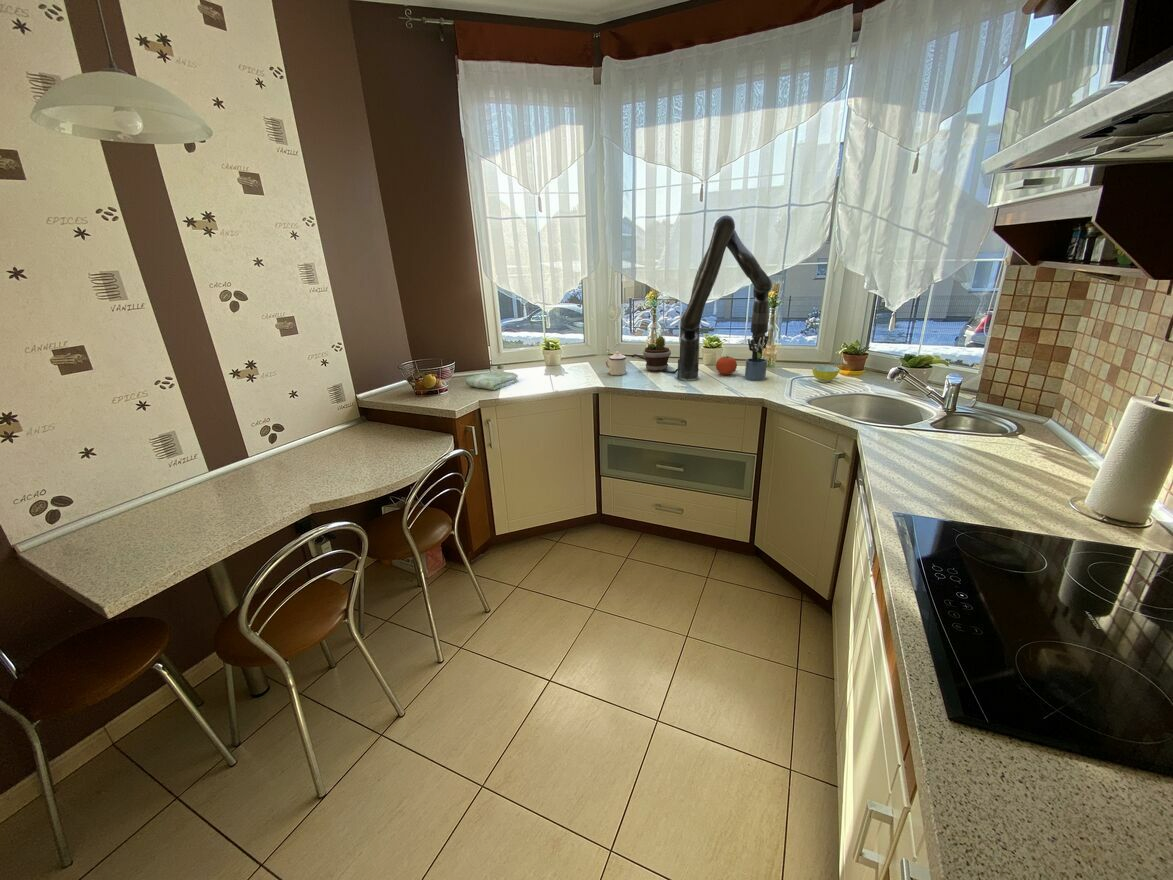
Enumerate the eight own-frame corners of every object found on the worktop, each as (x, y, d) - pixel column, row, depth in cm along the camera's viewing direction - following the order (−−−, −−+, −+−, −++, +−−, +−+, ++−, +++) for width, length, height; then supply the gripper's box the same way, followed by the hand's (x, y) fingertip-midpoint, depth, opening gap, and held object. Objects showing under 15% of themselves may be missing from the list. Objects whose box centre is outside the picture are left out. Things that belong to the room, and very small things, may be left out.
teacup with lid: (629, 372, 255) (629, 350, 251) (620, 376, 248) (620, 354, 244) (610, 370, 262) (609, 349, 257) (601, 374, 255) (600, 352, 251)
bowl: (811, 383, 218) (813, 370, 216) (810, 377, 228) (811, 365, 226) (839, 385, 215) (841, 371, 212) (836, 378, 225) (838, 365, 222)
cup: (740, 378, 233) (742, 360, 230) (752, 375, 238) (753, 357, 235) (757, 381, 226) (759, 363, 223) (769, 378, 231) (771, 359, 228)
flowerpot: (638, 368, 262) (638, 332, 255) (663, 365, 266) (664, 329, 259) (649, 374, 249) (649, 336, 242) (675, 371, 253) (676, 333, 246)
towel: (519, 381, 249) (519, 371, 247) (493, 391, 232) (491, 381, 230) (493, 378, 257) (492, 368, 256) (465, 388, 241) (464, 378, 239)
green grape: (751, 359, 229) (752, 352, 228) (755, 358, 231) (756, 351, 230) (757, 360, 227) (758, 353, 225) (762, 359, 228) (762, 352, 227)
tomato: (739, 373, 242) (741, 354, 239) (730, 377, 235) (732, 357, 231) (720, 371, 249) (721, 352, 245) (711, 375, 241) (712, 355, 238)
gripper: (761, 319, 229) (758, 355, 235) (743, 323, 221) (741, 360, 228) (775, 320, 223) (772, 357, 230) (757, 324, 216) (754, 362, 222)
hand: (756, 358), depth 229 cm, fingers closed on green grape, 3 cm apart
